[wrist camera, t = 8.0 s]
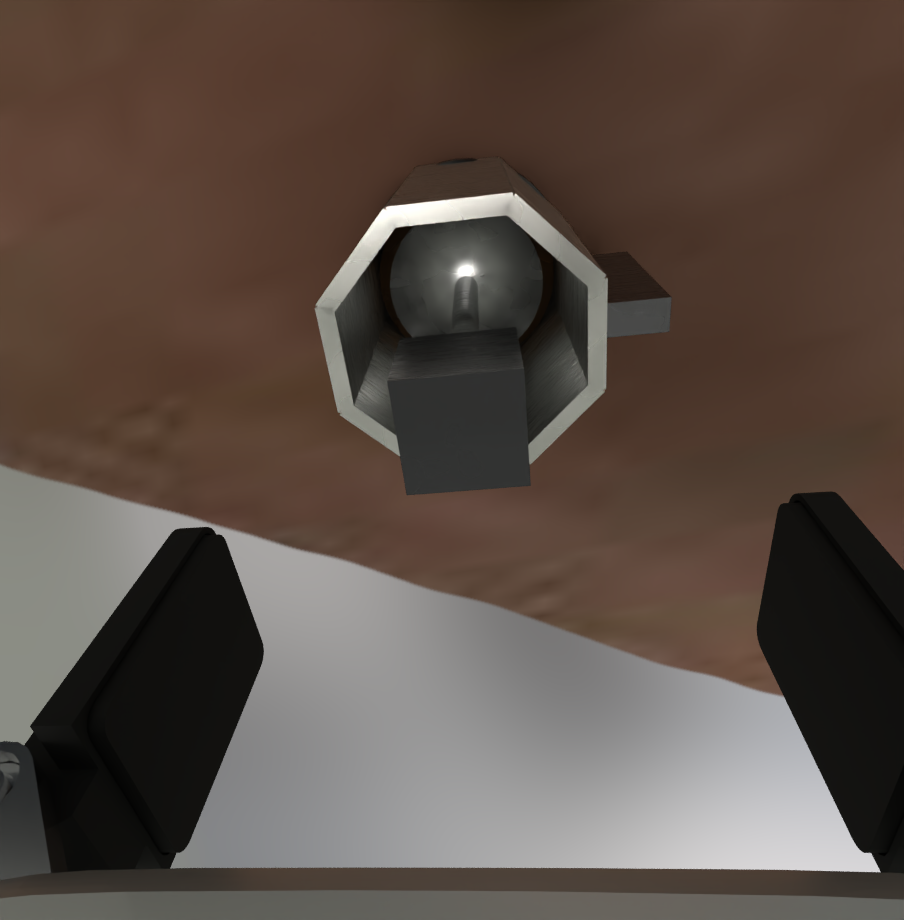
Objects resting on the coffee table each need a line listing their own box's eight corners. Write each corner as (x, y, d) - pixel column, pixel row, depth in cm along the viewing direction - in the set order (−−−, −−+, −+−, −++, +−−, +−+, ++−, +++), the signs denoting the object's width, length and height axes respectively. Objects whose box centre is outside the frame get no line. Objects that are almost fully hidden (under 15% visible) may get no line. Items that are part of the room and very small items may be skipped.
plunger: (538, 194, 26) (599, 287, 13) (543, 346, 29) (597, 534, 17) (380, 212, 26) (299, 318, 14) (403, 359, 30) (354, 550, 17)
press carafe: (612, 140, 28) (695, 167, 18) (609, 341, 33) (673, 456, 22) (355, 170, 29) (290, 214, 18) (388, 362, 34) (350, 481, 23)
